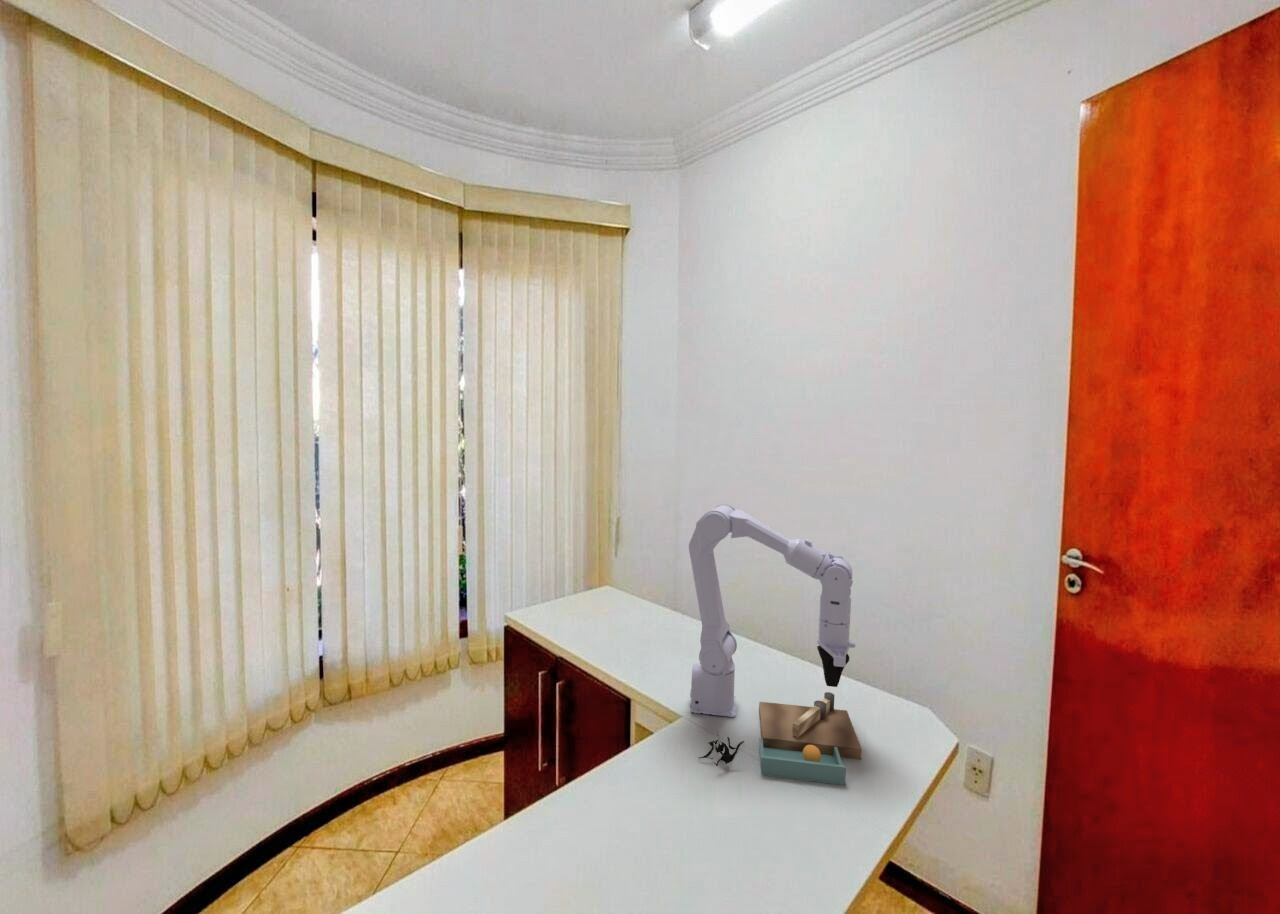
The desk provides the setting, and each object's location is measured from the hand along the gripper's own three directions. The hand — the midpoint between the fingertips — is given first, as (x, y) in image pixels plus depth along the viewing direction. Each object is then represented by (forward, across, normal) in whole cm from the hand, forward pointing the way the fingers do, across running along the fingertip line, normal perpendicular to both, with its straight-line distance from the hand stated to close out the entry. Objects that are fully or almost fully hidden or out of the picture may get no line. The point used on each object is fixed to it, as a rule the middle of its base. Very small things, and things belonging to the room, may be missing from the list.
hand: (831, 684), depth 106 cm
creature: (+10, -13, +22) cm, 27 cm away
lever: (+8, -1, +3) cm, 8 cm away
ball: (+9, -11, +6) cm, 16 cm away
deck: (+10, -2, +5) cm, 11 cm away
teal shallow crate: (+10, -12, +7) cm, 17 cm away
